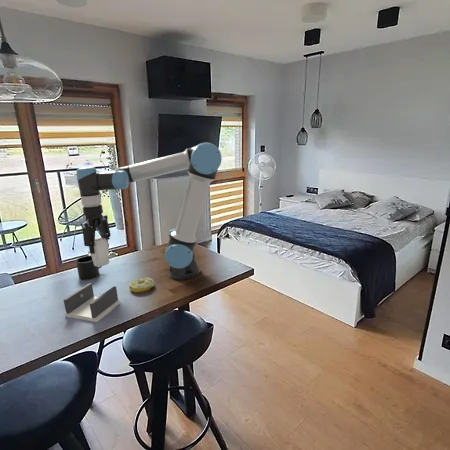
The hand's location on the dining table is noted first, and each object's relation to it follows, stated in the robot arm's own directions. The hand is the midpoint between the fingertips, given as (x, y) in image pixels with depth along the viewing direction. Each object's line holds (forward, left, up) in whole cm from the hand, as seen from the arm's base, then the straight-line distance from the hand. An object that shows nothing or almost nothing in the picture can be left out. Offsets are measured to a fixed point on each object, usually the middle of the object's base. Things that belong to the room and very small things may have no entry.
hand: (100, 256), depth 137 cm
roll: (0, 0, -3) cm, 3 cm away
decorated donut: (-15, -6, -17) cm, 23 cm away
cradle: (-6, +15, -16) cm, 23 cm away
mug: (+18, -12, -16) cm, 27 cm away
